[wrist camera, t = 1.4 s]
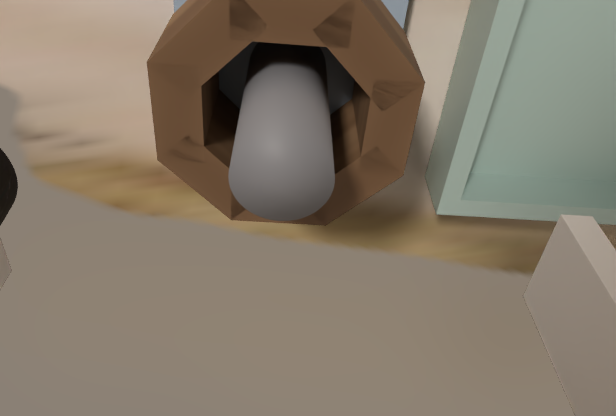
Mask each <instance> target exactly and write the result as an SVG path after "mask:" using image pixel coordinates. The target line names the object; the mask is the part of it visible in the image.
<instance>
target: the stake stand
mask: <svg viewBox="0 0 616 416" xmlns="http://www.w3.org/2000/svg"><path fill="white" fill-rule="evenodd" d="M186 1H187V0H174V13H175V12H176V11H177V10H178V9H179V8H180V7H181V6H182V5H183V4H184V3H185V2H186ZM381 1H382V2H383V4H384V5H385V6H386V8H387V9H388V10H389V12H390V13H391V14H392V16H393V17H394V18H395V20H396V21H397V22H398V24H399V25H400V26H401V28H402V29H403V28H404V22H405V17H406V12H407V7H408V2H409V0H381ZM354 82H355V79H354V78H353V77H352V76H351V75H350V74H349V72H348V71H347V70H346V69H345V68H344V67H343V65H342V64H341V63H340V62H339V61H338V60H337V58H336V57H335V56H334V55H333V54H332V53H331V51H330V50H329V49H328V48H327V47H320V46H306V45H293V44H280V43H267V42H254V41H252V42H251V43H250V44H249V45H248V46H247V47H245V48H244V49H243V50H242V51H241V52H240V53H239V54H237V55H236V56H235V57H234V58H233V59H232V60H231V61H229V62H228V63H227V64H226V65H225V66H224V67H223V68H221V69H220V70H219V90H220V91H222V92H223V93H224V94H225V95H226V96H227V97H228V98H229V99H230V100H231V101H232V102H233V103H234V104H235V105H236V106H237V107H238V108H239V109H240V114H239V119H238V125H237V130H236V135H235V141H234V146H233V151H232V157H231V162H230V167H229V175H228V178H229V185H230V189H231V191H232V193H233V195H234V197H235V198H236V200H237V201H238V202H239V203H240V204H241V205H242V206H243V207H244V208H245V209H247V210H248V211H249V212H251V213H253V214H255V215H257V216H259V217H262V218H265V219H269V220H275V221H291V220H297V219H301V218H304V217H306V216H309V215H311V214H313V213H314V212H316V211H317V210H319V209H320V208H321V207H322V206H323V205H324V204H325V203H326V202H327V201H328V199H329V198H330V196H331V194H332V192H333V189H334V184H335V171H334V159H333V146H332V134H331V121H330V115H331V114H332V113H333V112H335V111H336V110H337V109H339V108H340V107H341V106H343V105H344V104H345V103H347V102H348V101H350V100H351V99H352V95H353V89H354Z"/></svg>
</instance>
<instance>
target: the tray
mask: <svg viewBox="0 0 616 416" xmlns="http://www.w3.org/2000/svg"><path fill="white" fill-rule="evenodd" d="M425 179H426V182H427V185H428V189H429V192H430V195H431V199H432V202H433V205H434V208H435V212H436V214H439V215H456V216H473V217H490V218H507V219H524V220H541V221H558V219H559V217H560V215H561V214H563V215H580V216H593V218H594V219H595V221H596V222H597V223H598V224H608V225H616V0H471V4H470V7H469V11H468V15H467V19H466V23H465V26H464V30H463V34H462V38H461V42H460V45H459V49H458V53H457V57H456V61H455V64H454V68H453V72H452V76H451V80H450V83H449V87H448V91H447V95H446V99H445V102H444V106H443V110H442V114H441V118H440V121H439V125H438V129H437V133H436V136H435V140H434V144H433V148H432V152H431V155H430V159H429V163H428V167H427V171H426V174H425Z"/></svg>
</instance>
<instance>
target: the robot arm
mask: <svg viewBox="0 0 616 416" xmlns="http://www.w3.org/2000/svg"><path fill="white" fill-rule="evenodd" d="M10 273H11V267H10V264H9V261H8V259H7V256H6V253H5V250H4V247H3V244H2V242H1V239H0V289H1V288H2V286H3V284H4V283H5V281H6V279H7V278H8V276H9V274H10ZM523 298H524V300H525V302H526V304H527V307H528V309H529V311H530V314H531V316H532V318H533V320H534V323H535V325H536V327H537V330H538V332H539V334H540V337H541V339H542V341H543V344H544V346H545V348H546V350H547V353H548V355H549V357H550V359H551V362H552V364H553V366H554V369H555V371H556V373H557V376H558V378H559V380H560V382H561V385H562V387H563V389H564V392H565V394H566V396H567V398H568V400H569V403H570V405H571V408H572V410H573V412H574V415H575V416H616V250H615V248H614V247H613V245H612V244H611V243H610V241H609V240H608V238H607V237H606V235H605V234H604V232H603V231H602V229H601V228H600V226H599V225H598V223H597V222H596V221H595V219H594V218H593V216H580V215H563V214H561V215H560V217H559V219H558V222H557V224H556V226H555V228H554V230H553V232H552V234H551V237H550V239H549V241H548V243H547V245H546V247H545V249H544V252H543V254H542V256H541V258H540V260H539V262H538V264H537V267H536V269H535V271H534V273H533V275H532V277H531V279H530V282H529V284H528V286H527V288H526V290H525V292H524V295H523Z"/></svg>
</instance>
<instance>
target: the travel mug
mask: <svg viewBox="0 0 616 416" xmlns="http://www.w3.org/2000/svg"><path fill="white" fill-rule="evenodd" d="M17 188H18V184H17V177H16V173H15V170H14V168H13V166H12V164H11V162H10V160H9V159H8V157H7V156H6V154H5V153H4V152H3V151H2V150H1V148H0V225H1V223H2V222H3V220H4V219H5V217H6V215H7V214H8V212H9V210H10V208H11V207H12V205H13V203H14V201H15V198H16V195H17Z"/></svg>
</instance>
